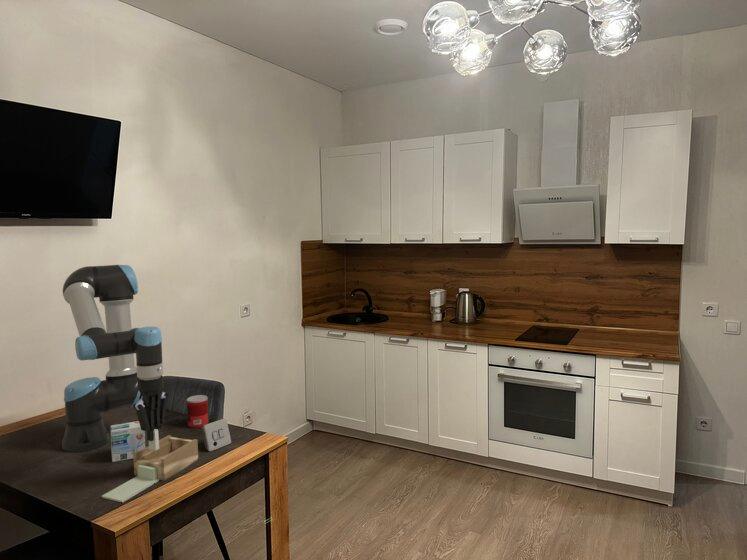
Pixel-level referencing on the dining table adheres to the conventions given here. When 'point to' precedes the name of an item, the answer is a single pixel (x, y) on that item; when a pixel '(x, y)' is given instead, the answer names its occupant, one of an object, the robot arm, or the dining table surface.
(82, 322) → the robot arm
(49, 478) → the dining table surface
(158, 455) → the pencil box
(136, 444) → the light bulb box
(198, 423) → the canned food
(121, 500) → the lid
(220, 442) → the electrical switch
